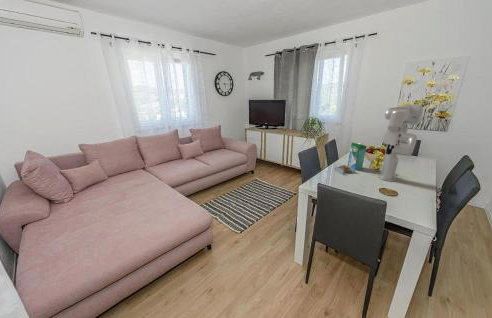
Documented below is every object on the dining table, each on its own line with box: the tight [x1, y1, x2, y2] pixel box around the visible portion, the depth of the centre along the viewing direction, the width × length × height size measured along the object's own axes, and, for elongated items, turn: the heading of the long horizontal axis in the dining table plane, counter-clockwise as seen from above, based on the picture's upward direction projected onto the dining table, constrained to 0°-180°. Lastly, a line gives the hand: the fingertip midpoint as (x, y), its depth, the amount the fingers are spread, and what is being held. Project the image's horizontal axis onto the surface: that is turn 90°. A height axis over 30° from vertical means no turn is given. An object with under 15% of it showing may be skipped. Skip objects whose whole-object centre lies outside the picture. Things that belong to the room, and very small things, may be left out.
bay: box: [334, 165, 356, 175], centre depth 180 cm, size 13×10×4 cm
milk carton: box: [347, 142, 368, 171], centre depth 185 cm, size 9×9×25 cm
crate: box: [338, 164, 350, 174], centre depth 180 cm, size 6×6×5 cm
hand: (388, 153), depth 142 cm, fingers closed
